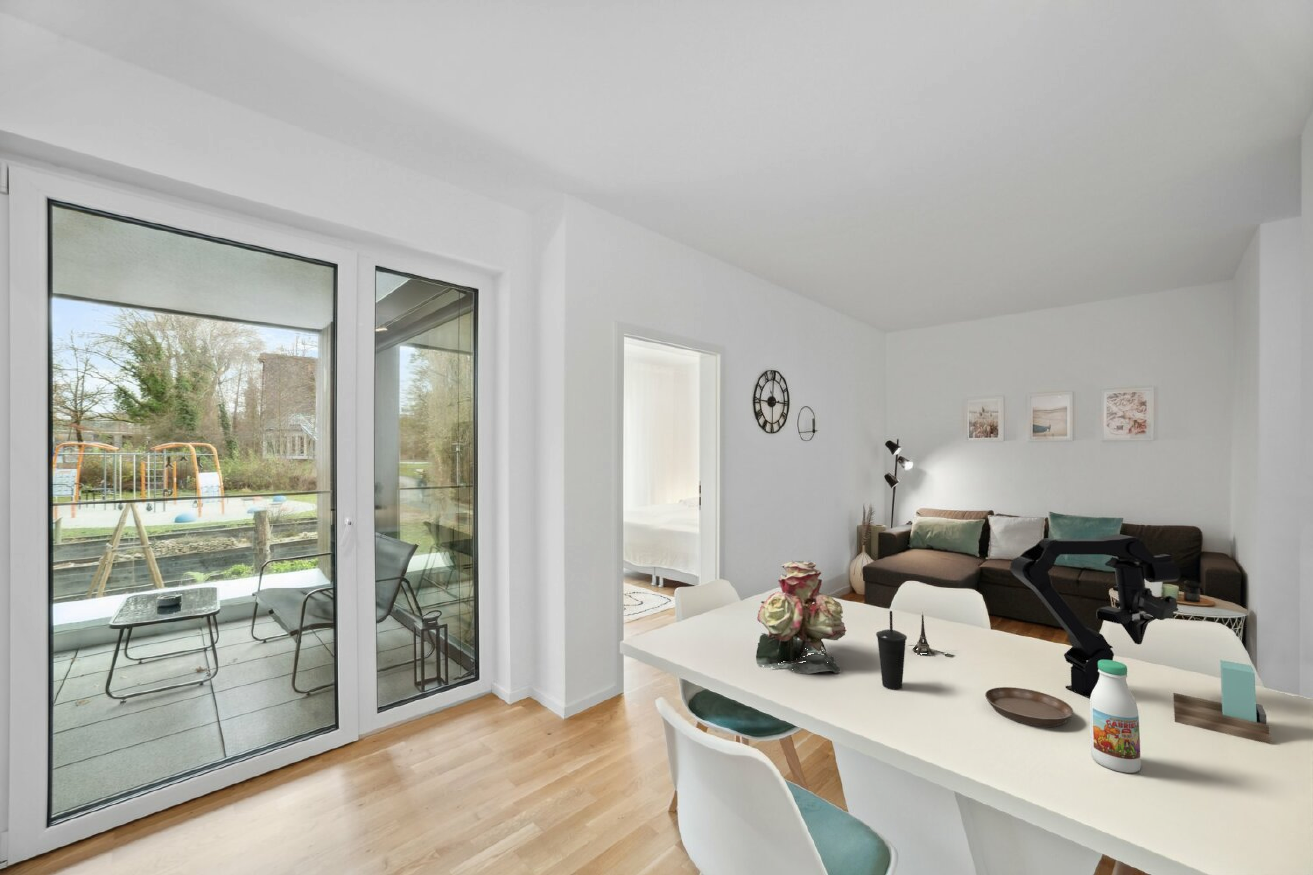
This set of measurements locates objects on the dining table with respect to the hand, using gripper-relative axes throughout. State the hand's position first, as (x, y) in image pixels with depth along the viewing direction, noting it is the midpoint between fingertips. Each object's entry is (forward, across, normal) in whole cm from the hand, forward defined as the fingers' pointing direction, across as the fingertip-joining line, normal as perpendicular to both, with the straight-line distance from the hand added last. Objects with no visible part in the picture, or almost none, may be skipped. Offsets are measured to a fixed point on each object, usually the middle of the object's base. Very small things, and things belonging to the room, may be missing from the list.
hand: (1138, 643), depth 143 cm
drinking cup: (+8, -60, +21) cm, 64 cm away
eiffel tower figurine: (+10, -33, +40) cm, 53 cm away
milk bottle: (+11, -41, -22) cm, 48 cm away
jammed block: (+12, +2, -18) cm, 22 cm away
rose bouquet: (+6, -73, +45) cm, 86 cm away
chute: (+13, 0, -15) cm, 20 cm away
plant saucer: (+10, -38, 0) cm, 40 cm away
